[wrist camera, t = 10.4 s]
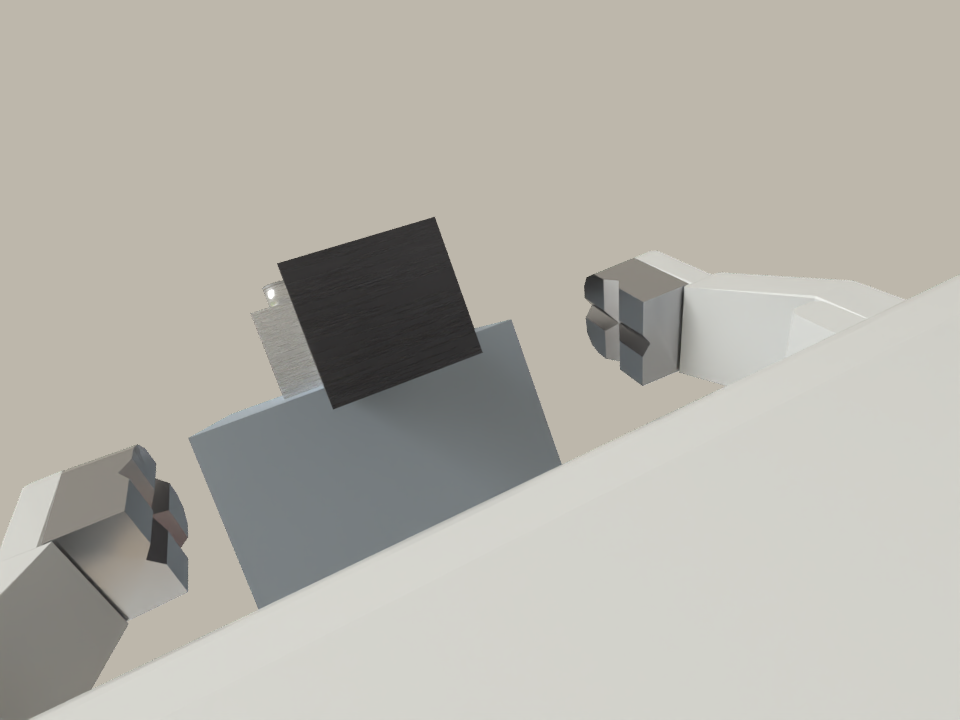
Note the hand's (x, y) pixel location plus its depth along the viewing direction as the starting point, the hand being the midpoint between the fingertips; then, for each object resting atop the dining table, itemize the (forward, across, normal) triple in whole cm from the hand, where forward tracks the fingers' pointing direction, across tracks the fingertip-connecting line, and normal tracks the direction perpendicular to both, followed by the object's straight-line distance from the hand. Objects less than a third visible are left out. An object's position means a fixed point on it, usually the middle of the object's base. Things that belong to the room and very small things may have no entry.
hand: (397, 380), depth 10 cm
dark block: (+5, 0, -3) cm, 6 cm away
